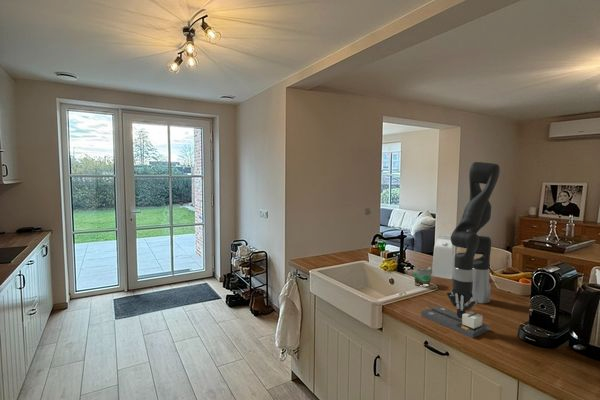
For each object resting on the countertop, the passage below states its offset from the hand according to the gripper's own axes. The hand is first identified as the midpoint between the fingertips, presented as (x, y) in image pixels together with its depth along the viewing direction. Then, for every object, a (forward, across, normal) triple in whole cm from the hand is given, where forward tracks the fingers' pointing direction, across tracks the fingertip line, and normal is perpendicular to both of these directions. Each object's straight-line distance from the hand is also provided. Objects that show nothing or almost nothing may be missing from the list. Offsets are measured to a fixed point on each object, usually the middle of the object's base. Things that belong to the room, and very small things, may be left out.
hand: (460, 317), depth 136 cm
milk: (+4, -46, +56) cm, 73 cm away
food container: (+4, -40, +29) cm, 49 cm away
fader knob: (+1, +5, 0) cm, 5 cm away
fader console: (+4, -3, 0) cm, 5 cm away
